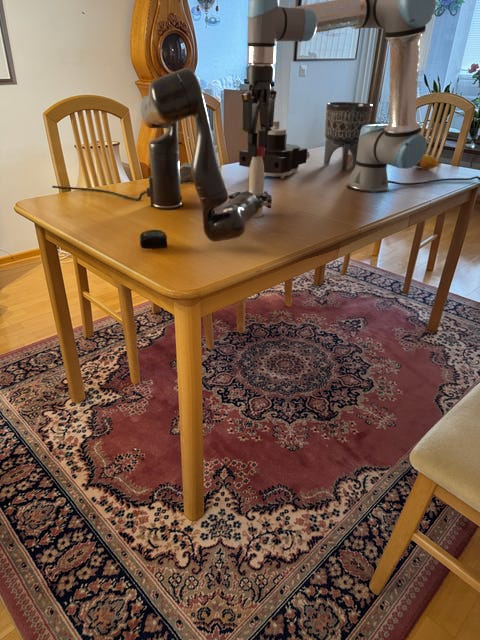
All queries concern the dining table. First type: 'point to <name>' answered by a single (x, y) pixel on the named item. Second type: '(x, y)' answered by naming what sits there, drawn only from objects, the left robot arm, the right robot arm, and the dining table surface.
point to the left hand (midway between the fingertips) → (257, 193)
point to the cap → (260, 151)
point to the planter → (345, 128)
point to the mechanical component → (278, 154)
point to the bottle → (256, 179)
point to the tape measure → (153, 239)
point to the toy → (427, 162)
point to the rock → (185, 173)
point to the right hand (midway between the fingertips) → (257, 155)
